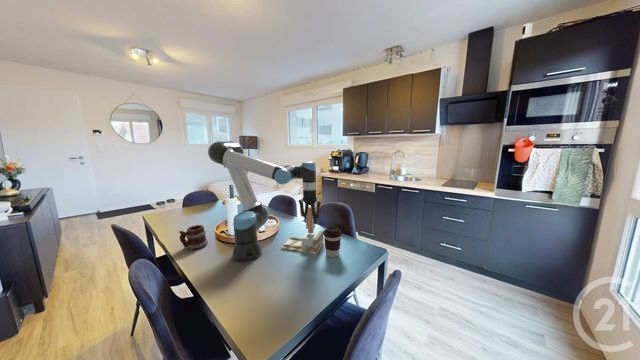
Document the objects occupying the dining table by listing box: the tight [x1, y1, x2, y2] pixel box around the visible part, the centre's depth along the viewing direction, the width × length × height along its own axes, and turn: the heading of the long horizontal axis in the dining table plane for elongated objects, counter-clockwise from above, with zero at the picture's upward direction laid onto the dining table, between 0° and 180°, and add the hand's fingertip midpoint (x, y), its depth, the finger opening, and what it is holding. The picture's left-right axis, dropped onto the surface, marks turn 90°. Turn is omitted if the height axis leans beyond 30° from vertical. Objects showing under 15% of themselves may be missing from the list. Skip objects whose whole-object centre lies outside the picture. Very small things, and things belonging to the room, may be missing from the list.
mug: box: [178, 224, 209, 251], centre depth 130 cm, size 12×14×15 cm
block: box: [301, 232, 318, 248], centre depth 128 cm, size 8×8×6 cm
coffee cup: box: [323, 226, 343, 258], centre depth 119 cm, size 10×10×15 cm
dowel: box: [307, 206, 314, 233], centre depth 126 cm, size 3×3×15 cm
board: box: [280, 229, 325, 255], centre depth 130 cm, size 22×14×8 cm, turn 73°
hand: (310, 228), depth 127 cm, fingers closed on dowel, 3 cm apart
